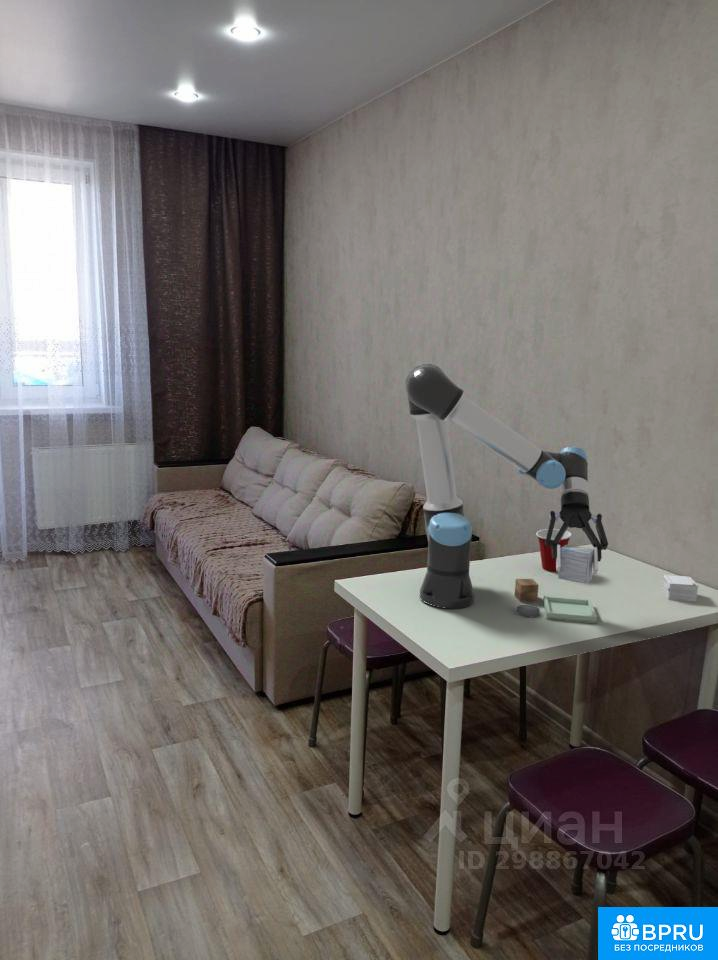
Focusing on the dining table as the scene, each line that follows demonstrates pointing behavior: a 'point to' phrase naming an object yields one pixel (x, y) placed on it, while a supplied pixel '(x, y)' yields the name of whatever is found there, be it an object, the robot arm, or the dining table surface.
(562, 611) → the tray
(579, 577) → the medicine box
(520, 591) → the walnut cube
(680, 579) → the small box
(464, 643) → the dining table surface
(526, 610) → the dark grey pebble
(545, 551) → the plastic cup
